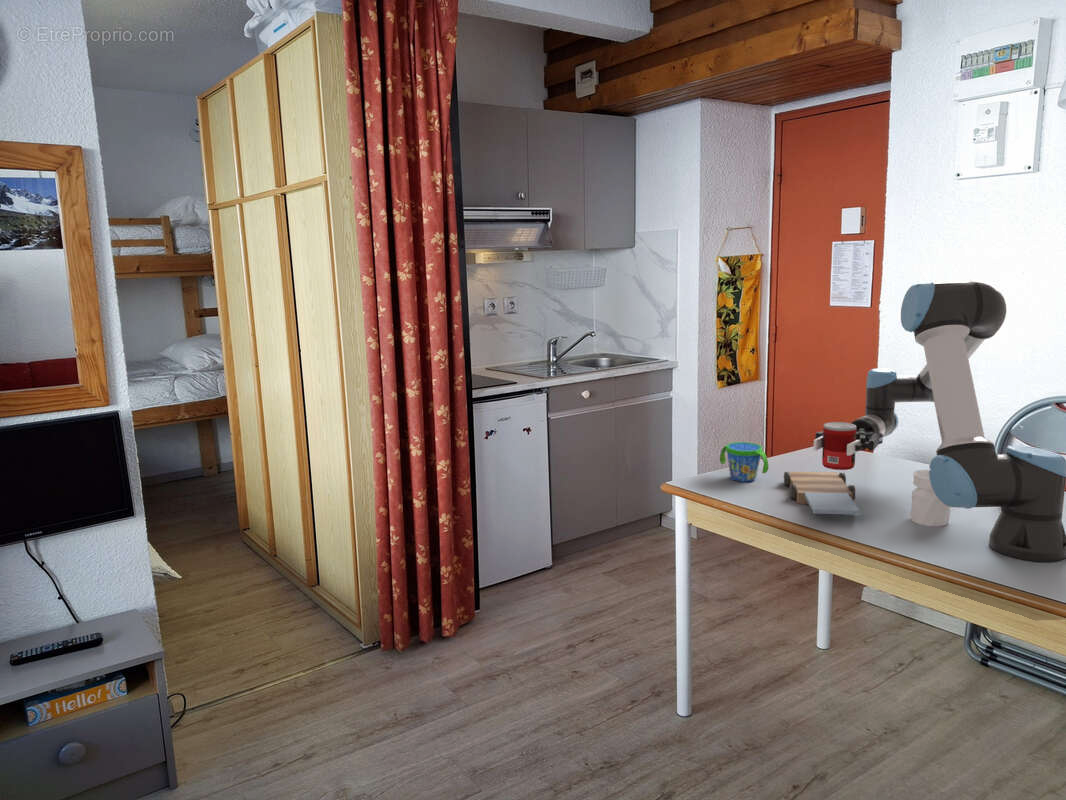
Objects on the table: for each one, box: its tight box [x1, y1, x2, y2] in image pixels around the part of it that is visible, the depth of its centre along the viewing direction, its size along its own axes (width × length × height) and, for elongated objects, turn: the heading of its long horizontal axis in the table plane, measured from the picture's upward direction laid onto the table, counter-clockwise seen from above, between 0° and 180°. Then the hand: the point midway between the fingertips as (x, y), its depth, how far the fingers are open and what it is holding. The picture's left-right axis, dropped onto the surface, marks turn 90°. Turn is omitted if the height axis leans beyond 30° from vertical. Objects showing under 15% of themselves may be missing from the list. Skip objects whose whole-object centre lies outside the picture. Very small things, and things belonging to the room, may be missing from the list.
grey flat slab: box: [804, 492, 861, 515], centre depth 204 cm, size 1×11×14 cm
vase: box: [910, 469, 951, 527], centre depth 196 cm, size 9×9×12 cm
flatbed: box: [783, 471, 857, 505], centre depth 221 cm, size 20×16×4 cm
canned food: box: [821, 421, 856, 471], centre depth 204 cm, size 8×8×11 cm
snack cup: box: [719, 441, 769, 483], centre depth 235 cm, size 16×10×10 cm
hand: (831, 447), depth 200 cm, fingers closed on canned food, 8 cm apart
